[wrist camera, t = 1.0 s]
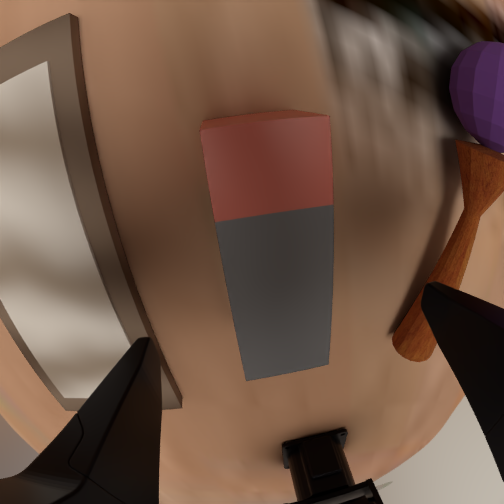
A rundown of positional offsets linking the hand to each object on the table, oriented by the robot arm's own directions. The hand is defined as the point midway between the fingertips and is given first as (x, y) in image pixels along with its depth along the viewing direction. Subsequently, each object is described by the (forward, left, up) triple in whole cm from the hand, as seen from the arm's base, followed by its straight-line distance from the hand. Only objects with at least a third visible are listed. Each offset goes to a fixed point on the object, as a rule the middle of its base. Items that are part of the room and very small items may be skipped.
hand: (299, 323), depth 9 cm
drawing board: (0, +12, -7) cm, 14 cm away
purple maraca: (0, -11, -7) cm, 14 cm away
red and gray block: (0, 0, -7) cm, 7 cm away
